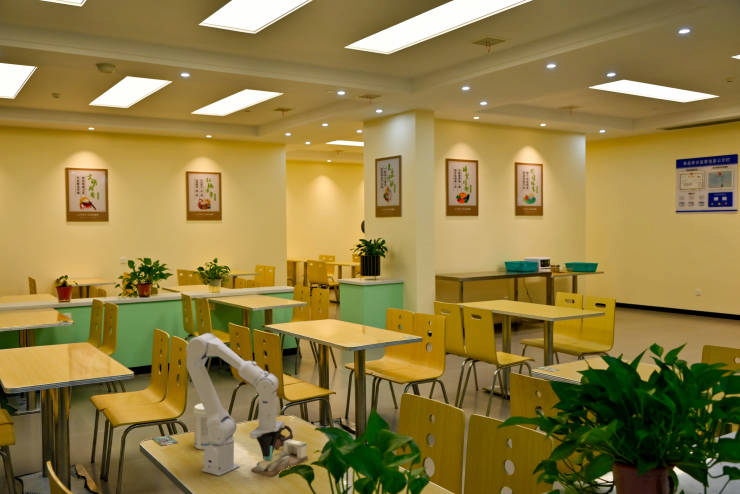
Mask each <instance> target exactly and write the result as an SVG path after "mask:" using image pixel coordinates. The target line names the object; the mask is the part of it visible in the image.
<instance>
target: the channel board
mask: <svg viewBox="0 0 740 494" xmlns="http://www.w3.org/2000/svg"><path fill="white" fill-rule="evenodd" d="M307 460H309V457H308V456H306V457H304V458H302V459H300V458H297V454H294V453H292V454H290V455H288V456H286V457H284V458H282V459H280V460H278V461H276V462H273V463H271V464H269V465H268V469H266V470H264V471H259V470H258V469H257V465H256V466H253V467H252V468H251V473H256V474H259V475H262V476H267V477H270V478H273V477H274V476H277V475H278V473H279V472H280V471H281V470H283V469H286V468H289V467H291V465H292V466H293V465H295V466H298V465H299V464H301V463H303V462H305V461H307ZM298 463H299V464H298ZM288 466H289V467H288ZM293 467H294V466H293ZM291 468H292V467H291ZM289 469H290V468H289ZM279 474H280V473H279Z"/></svg>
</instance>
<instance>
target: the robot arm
mask: <svg viewBox="0 0 740 494" xmlns="http://www.w3.org/2000/svg"><path fill="white" fill-rule="evenodd" d="M185 351H186V361H185V362H186V363H185V365H186V366H185V367H186V368H187V370H186V371H188V373H189V374H188V375H189V376H190V379H191V381H192V383H193V385H194V388H195V390H196V393H197V395H198V397H199V399H200V402H201V403H202V405H203V407H204V409H205V412H206V414H207V423H206V425H207V428H208V437H209V439H210V441H211V443H210V445H209V446H207V447H206V448H205V450H203V457H202V458H203V468H202V469H201V472H204V473H209V474H211V475H215V476H222V475H224V474H226V473H229V472H231V471H233V470H235V469H237V468H240V464H237V463H235V439H234V434H235V433H236V431H237V423H236V421H235V420H234V418H233V417H231V415H230V414H229V413H230V412H228V410H226V409H224V407H223V404H221V401H220V398H219V396H218V394H217V391H216V389H215V386H214V384H213V381H212V379H211V378H210V375H209V373H208V370H207V368H206V366H205V364H206V362H207V360H208V358H209V357H218V358H220V359H222V360H223V361H224V362H226V363H227V364H229V365H230V366H232V367H233V368H235V369H236V370H237V371H238V375H239V376H240V377H241V378H243V380H244V381H246V382H248V384H251V386H253V387H254V388H255V390H256V392H257V393H258V426H257V427H256V428H255V429H253V430H252V431H250V432H249V439H251V440H257V442H258V444H259V446H260V449H261V453H262V457H263V456H265V457H269V453H270V445H272V456H273V455H274V450H275V448H274V447H275V443H276V441H277V439H278V437H279V435H280V432H278V430H279V428H284V425H285V421H284V420H283V421H282V420H279V421H278V420H277V418H278V416H277V415H278V411H277V409H278V405H277V403H278V400H277V398H278V397H277V389H278V388H279V384H280V382H279V379H278V377H277V376H276V375H275V374H274V373H269V372H268V371H267V370H263V369H262V368H261V367H260V366H258V365H257V364H258V362H256V361H255V360H253V361H252V360H244V359H243V357H242V358H241V357H240V356H239V355H238V354H237V353H236V352H234V351H233V350H232V349H231V348H230V347H228V346H227V345H226V344H225V343H224V342H223V341H222V340H221V339H220V338H218V337H217V336H215V334H213V333H211V332H206V333H203V334H201V335H199V336H195V337H192V338H191V339H190V340H189V341H188V343H187V345H186V347H185Z"/></svg>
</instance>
